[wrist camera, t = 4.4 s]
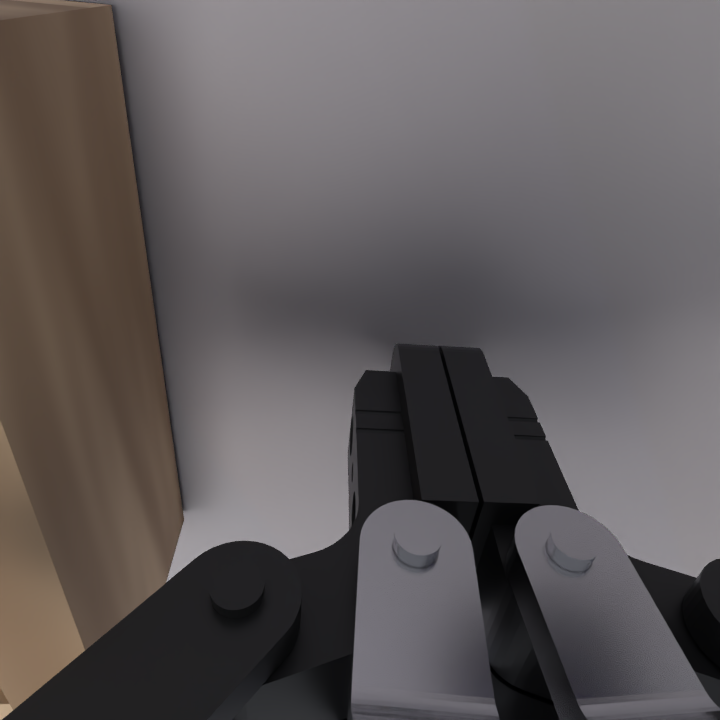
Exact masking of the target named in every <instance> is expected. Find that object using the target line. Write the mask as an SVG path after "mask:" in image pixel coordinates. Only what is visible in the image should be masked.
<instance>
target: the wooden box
mask: <svg viewBox="0 0 720 720" xmlns="http://www.w3.org/2000/svg"><path fill="white" fill-rule="evenodd" d="M183 521H184V516H183V509H182V502H181V495H180V488H179V481H178V474H177V467H176V459H175V452H174V445H173V438H172V431H171V424H170V417H169V410H168V403H167V396H166V389H165V382H164V375H163V368H162V360H161V353H160V346H159V339H158V332H157V325H156V318H155V311H154V304H153V297H152V290H151V283H150V276H149V269H148V261H147V254H146V247H145V240H144V233H143V226H142V219H141V212H140V205H139V198H138V191H137V184H136V177H135V170H134V162H133V155H132V148H131V141H130V134H129V127H128V120H127V113H126V106H125V99H124V92H123V85H122V78H121V71H120V63H119V56H118V49H117V42H116V35H115V28H114V21H113V14H112V7H111V5H106V4H96V3H86V2H75V1H65V0H0V720H2V719H3V718H4V717H6V716H7V715H8V714H9V713H10V712H12V711H13V710H14V709H15V708H16V707H18V706H19V705H20V704H21V703H22V702H24V701H25V700H26V699H27V698H29V697H30V696H31V695H32V694H33V693H35V692H36V691H37V690H38V689H39V688H41V687H42V686H43V685H44V684H45V683H47V682H48V681H49V680H50V679H51V678H53V677H54V676H55V675H56V674H57V673H59V672H60V671H61V670H62V669H63V668H65V667H66V666H67V665H68V664H69V663H71V662H72V661H73V660H74V659H75V658H77V657H78V656H79V655H80V654H81V653H83V652H84V651H85V650H86V649H87V648H89V647H90V646H91V645H92V644H93V643H95V642H96V641H97V640H98V639H99V638H101V637H102V636H103V635H104V634H105V633H107V632H108V631H109V630H110V629H111V628H113V627H114V626H115V625H116V624H117V623H119V622H120V621H121V620H122V619H123V618H125V617H126V616H127V615H128V614H129V613H131V612H132V611H133V610H134V609H135V608H137V607H138V606H139V605H140V604H141V603H143V602H144V601H145V600H146V599H147V598H149V597H150V596H151V595H152V594H153V593H155V592H156V591H157V590H158V589H159V588H161V587H162V586H163V585H164V584H165V583H166V581H167V577H168V574H169V570H170V567H171V563H172V560H173V556H174V553H175V549H176V546H177V542H178V539H179V535H180V532H181V528H182V525H183Z"/></svg>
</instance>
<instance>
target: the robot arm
mask: <svg viewBox="0 0 720 720" xmlns="http://www.w3.org/2000/svg"><path fill="white" fill-rule="evenodd" d="M537 419H538V418H537V416H536V413H535V411H534V409H533V407H532V405H531V402H530V400H529V398H528V396H527V395H526V394H525V393H524V392H523V391H522V390H521V389H520V388H518V387H517V386H516V385H515V384H514V383H513V382H512V381H511V380H510V379H509V378H504V377H492V375H491V373H490V370H489V367H488V365H487V362H486V359H485V357H484V354H483V352H482V350H481V349H480V348H466V347H448V346H438V347H437V346H428V345H411V344H395V346H394V350H393V355H392V362H391V369H390V371H371V370H366V371H365V373H364V374H363V376H362V377H361V379H360V380H359V382H358V383H357V385H356V387H355V389H354V399H353V408H352V418H351V428H350V437H349V447H348V475H349V479H348V484H349V531H348V532H347V533H346V534H345V535H344V536H343V537H342V538H341V539H340V540H338V541H337V542H336V543H334V544H333V545H331V546H329V547H327V548H325V549H323V550H320V551H317V552H314V553H311V554H307V555H303V556H300V557H296V558H293V559H288V558H287V557H286V556H285V555H284V554H283V553H282V552H280V551H278V550H277V549H275V548H274V547H271V546H269V545H266V544H263V543H259V542H254V541H235V542H230V543H225V544H222V545H219V546H216V547H213V548H211V549H210V550H208V551H206V552H204V553H202V554H201V555H200V556H198V557H197V558H196V559H194V560H193V561H192V562H191V563H189V564H188V565H187V566H186V567H185V568H183V569H182V570H181V571H180V572H179V573H177V574H176V575H175V576H174V577H173V578H171V579H170V580H169V581H168V582H167V583H165V584H164V585H163V586H162V587H161V588H159V589H158V590H157V591H156V592H155V593H153V594H152V595H151V596H150V597H149V598H147V599H146V600H145V601H144V602H143V603H141V604H140V605H139V606H138V607H137V608H135V609H134V610H133V611H132V612H131V613H129V614H128V615H127V616H126V617H125V618H123V619H122V620H121V621H120V622H119V623H117V624H116V625H115V626H114V627H113V628H111V629H110V630H109V631H108V632H107V633H105V634H104V635H103V636H102V637H101V638H99V639H98V640H97V641H96V642H95V643H93V644H92V645H91V646H90V647H89V648H87V649H86V650H85V651H84V652H83V653H81V654H80V655H79V656H78V657H77V658H75V659H74V660H73V661H72V662H71V663H69V664H68V665H67V666H66V667H65V668H63V669H62V670H61V671H60V672H59V673H57V674H56V675H55V676H54V677H53V678H51V679H50V680H49V681H48V682H47V683H45V684H44V685H43V686H42V687H41V688H39V689H38V690H37V691H36V692H35V693H33V694H32V695H31V696H30V697H29V698H27V699H26V700H25V701H24V702H22V703H21V704H20V705H19V706H18V707H16V708H15V709H14V710H13V711H12V712H10V713H9V714H8V715H7V716H6V717H4V718H3V719H2V720H720V559H716V560H714V561H712V562H710V563H709V564H708V565H706V566H705V567H704V569H703V570H702V572H701V573H700V574H699V576H698V577H697V578H695V577H692V576H689V575H685V574H682V573H679V572H676V571H672V570H669V569H666V568H662V567H659V566H656V565H653V564H649V563H646V562H643V561H640V560H638V559H635V558H632V557H630V556H628V555H627V554H626V552H625V551H624V549H623V547H622V546H621V544H620V543H619V541H618V540H617V538H616V537H615V536H614V535H613V534H612V533H611V532H610V531H609V530H608V529H607V528H606V527H605V526H604V525H603V524H601V523H600V522H598V521H597V520H596V519H594V518H592V517H590V516H589V515H587V514H585V513H583V512H580V511H579V510H578V508H577V506H576V503H575V501H574V499H573V497H572V494H571V492H570V490H569V488H568V485H567V483H566V481H565V479H564V476H563V474H562V472H561V470H560V467H559V465H558V463H557V461H556V458H555V456H554V454H553V452H552V449H551V447H550V445H549V443H548V441H546V440H545V437H546V436H545V434H544V431H543V429H542V427H541V425H540V423H538V422H537Z"/></svg>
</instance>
